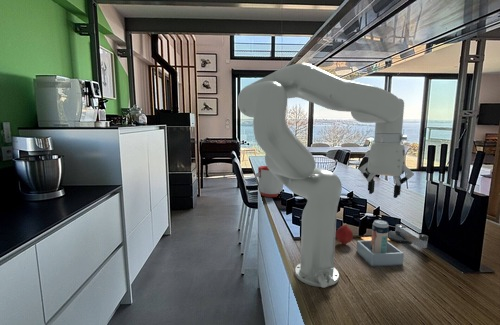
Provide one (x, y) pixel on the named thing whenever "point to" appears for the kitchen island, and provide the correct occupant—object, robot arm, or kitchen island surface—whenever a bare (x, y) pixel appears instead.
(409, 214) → the kitchen island surface
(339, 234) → the onion
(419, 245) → the crank arm
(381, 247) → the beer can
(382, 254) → the tray
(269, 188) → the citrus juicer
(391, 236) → the crank base
